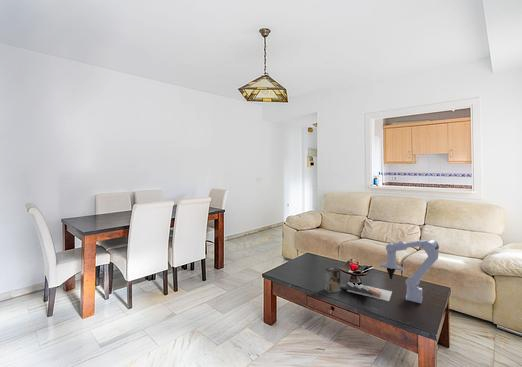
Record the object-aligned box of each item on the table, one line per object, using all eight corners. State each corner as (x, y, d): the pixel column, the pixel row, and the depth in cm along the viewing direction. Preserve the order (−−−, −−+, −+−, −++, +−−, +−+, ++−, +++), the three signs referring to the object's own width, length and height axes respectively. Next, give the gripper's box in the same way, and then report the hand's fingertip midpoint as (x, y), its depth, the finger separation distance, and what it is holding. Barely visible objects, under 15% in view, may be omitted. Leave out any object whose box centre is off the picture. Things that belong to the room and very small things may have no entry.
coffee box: (335, 288, 203) (336, 267, 202) (340, 291, 197) (340, 270, 196) (324, 289, 201) (324, 268, 200) (329, 293, 195) (329, 271, 194)
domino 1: (352, 285, 203) (341, 283, 207) (350, 287, 198) (339, 286, 203) (352, 287, 203) (341, 285, 207) (350, 290, 198) (339, 288, 203)
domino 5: (381, 292, 192) (370, 286, 195) (380, 295, 187) (369, 288, 191) (381, 294, 192) (369, 288, 196) (379, 297, 188) (368, 290, 192)
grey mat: (392, 292, 196) (392, 291, 196) (388, 301, 182) (388, 301, 182) (352, 283, 211) (352, 282, 211) (346, 291, 197) (346, 290, 197)
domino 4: (374, 290, 194) (363, 284, 198) (372, 293, 190) (361, 287, 194) (373, 292, 195) (362, 286, 198) (372, 295, 190) (360, 289, 194)
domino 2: (359, 287, 200) (348, 281, 204) (357, 289, 196) (347, 283, 199) (358, 289, 200) (348, 282, 204) (356, 291, 196) (346, 285, 200)
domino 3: (366, 288, 197) (355, 283, 201) (365, 291, 193) (354, 285, 197) (365, 290, 197) (355, 284, 201) (364, 293, 193) (353, 287, 197)
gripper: (403, 260, 194) (402, 278, 195) (381, 256, 202) (381, 274, 203) (402, 263, 188) (401, 282, 189) (379, 259, 196) (379, 277, 197)
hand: (391, 278), depth 196 cm, fingers closed
